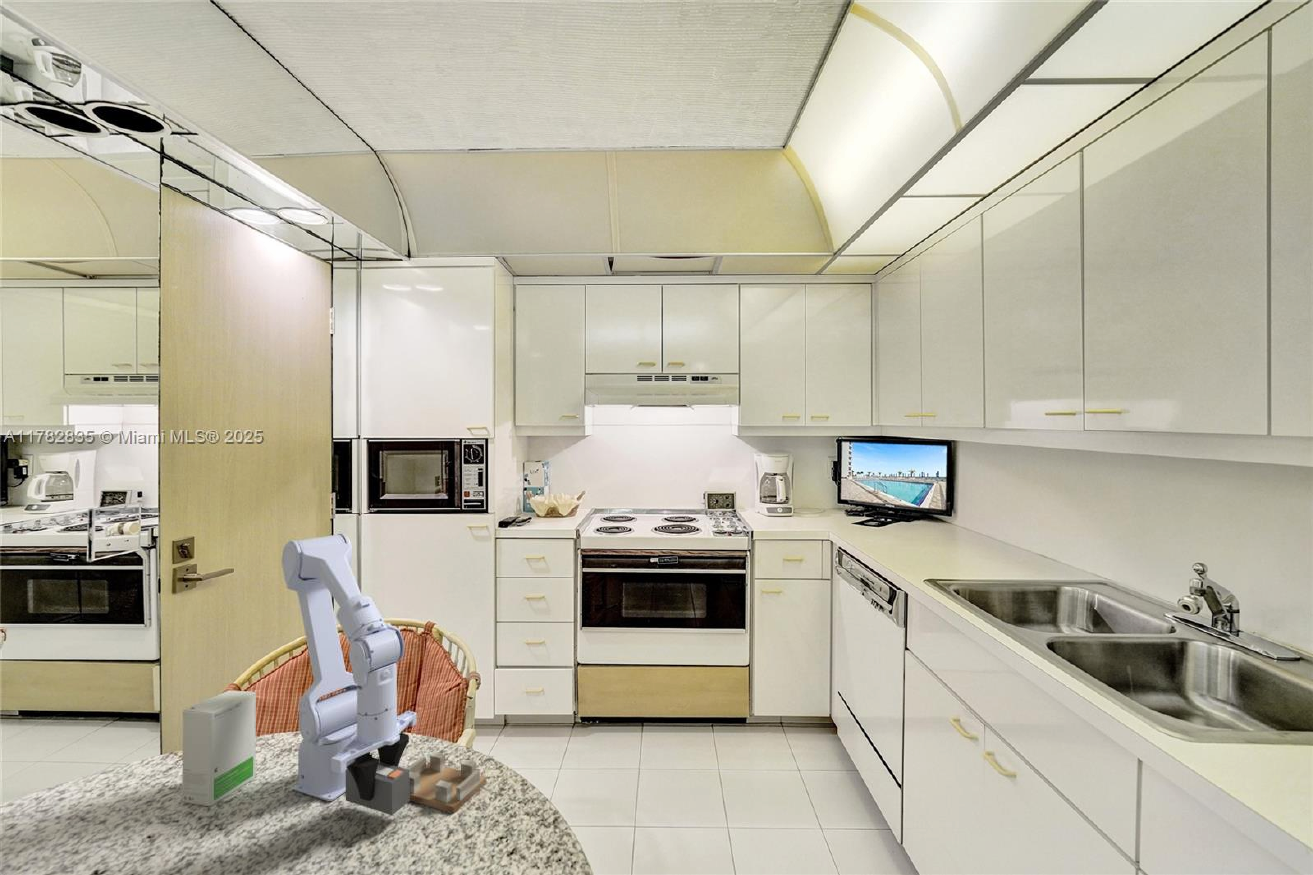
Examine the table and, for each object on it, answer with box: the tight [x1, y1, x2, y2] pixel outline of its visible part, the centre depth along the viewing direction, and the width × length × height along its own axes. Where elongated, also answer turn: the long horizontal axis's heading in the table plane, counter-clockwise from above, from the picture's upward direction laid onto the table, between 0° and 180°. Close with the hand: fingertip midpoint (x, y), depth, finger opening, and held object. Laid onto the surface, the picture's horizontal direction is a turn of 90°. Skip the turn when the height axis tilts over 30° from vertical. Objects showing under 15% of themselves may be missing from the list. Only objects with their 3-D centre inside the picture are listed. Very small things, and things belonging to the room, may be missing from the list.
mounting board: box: [406, 751, 487, 814], centre depth 89 cm, size 13×8×4 cm, turn 70°
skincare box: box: [181, 690, 257, 807], centre depth 90 cm, size 8×7×16 cm
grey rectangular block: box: [345, 761, 410, 816], centre depth 83 cm, size 10×3×5 cm, turn 70°
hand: (377, 790), depth 83 cm, fingers closed on grey rectangular block, 3 cm apart
